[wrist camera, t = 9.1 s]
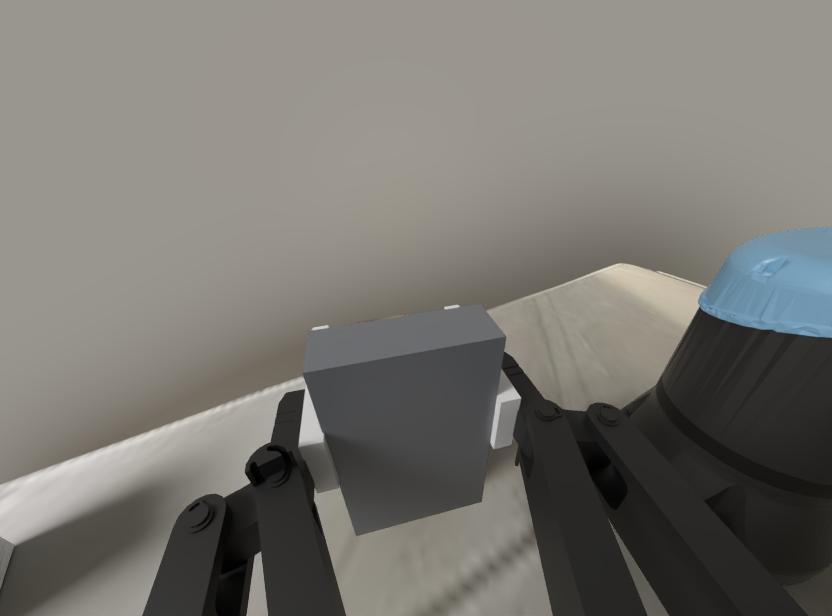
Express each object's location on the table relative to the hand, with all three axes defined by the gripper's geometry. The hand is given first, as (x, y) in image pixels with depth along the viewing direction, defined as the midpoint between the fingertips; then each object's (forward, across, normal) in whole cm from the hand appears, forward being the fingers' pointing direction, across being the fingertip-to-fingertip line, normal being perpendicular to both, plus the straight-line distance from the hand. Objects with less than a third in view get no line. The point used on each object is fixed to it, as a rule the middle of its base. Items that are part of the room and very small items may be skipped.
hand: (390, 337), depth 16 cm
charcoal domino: (-5, 0, -6) cm, 8 cm away
